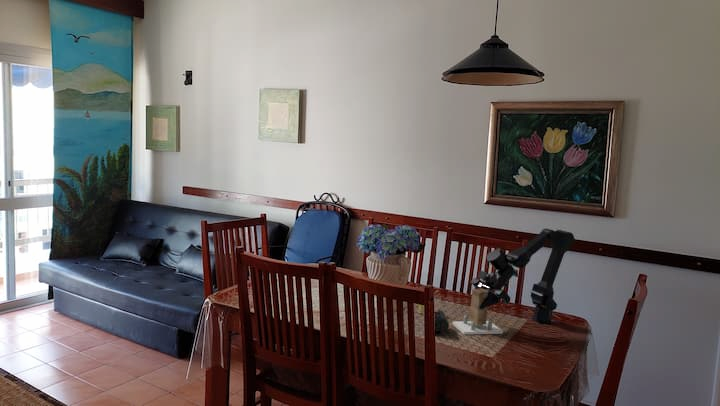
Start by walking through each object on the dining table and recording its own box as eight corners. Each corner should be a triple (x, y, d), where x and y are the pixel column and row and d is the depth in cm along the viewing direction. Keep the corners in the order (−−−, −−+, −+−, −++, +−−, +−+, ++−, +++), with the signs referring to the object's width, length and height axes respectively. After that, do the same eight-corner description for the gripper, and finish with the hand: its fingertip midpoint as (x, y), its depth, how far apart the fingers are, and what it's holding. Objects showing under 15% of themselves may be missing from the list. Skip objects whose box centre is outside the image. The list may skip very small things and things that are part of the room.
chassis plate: (489, 323, 204) (490, 313, 204) (502, 333, 193) (503, 323, 193) (452, 323, 201) (453, 314, 200) (463, 334, 190) (464, 324, 189)
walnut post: (478, 320, 200) (481, 288, 198) (486, 324, 196) (489, 291, 194) (469, 321, 198) (472, 289, 196) (476, 325, 194) (479, 292, 192)
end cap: (448, 336, 187) (449, 318, 186) (429, 335, 187) (430, 317, 187) (444, 326, 197) (446, 310, 196) (426, 325, 197) (427, 308, 197)
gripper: (476, 258, 204) (451, 286, 201) (507, 270, 187) (480, 300, 184) (490, 276, 208) (466, 304, 205) (521, 289, 191) (495, 319, 188)
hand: (476, 306), depth 195 cm, fingers closed on walnut post, 4 cm apart
